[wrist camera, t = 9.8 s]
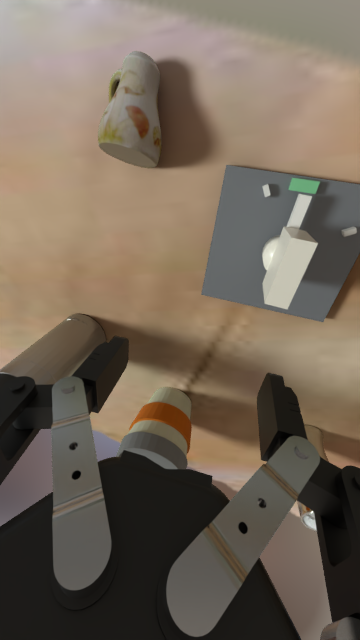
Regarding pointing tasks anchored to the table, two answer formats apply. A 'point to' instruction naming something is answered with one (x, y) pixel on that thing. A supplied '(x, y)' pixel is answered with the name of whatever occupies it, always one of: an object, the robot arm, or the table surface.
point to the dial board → (268, 221)
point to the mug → (133, 113)
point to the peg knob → (287, 257)
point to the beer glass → (317, 440)
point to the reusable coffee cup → (162, 429)
